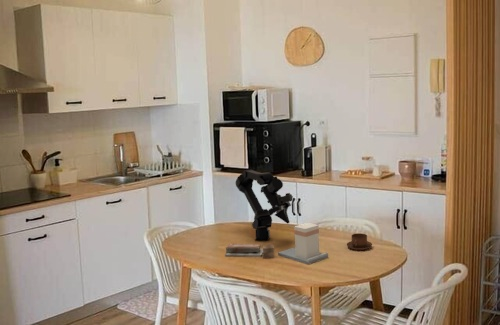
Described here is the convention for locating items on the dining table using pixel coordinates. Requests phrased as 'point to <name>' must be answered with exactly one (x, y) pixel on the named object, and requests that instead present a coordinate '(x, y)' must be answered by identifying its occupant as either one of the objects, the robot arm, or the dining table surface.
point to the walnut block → (268, 251)
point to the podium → (292, 255)
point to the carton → (307, 240)
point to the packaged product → (243, 250)
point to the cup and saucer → (359, 242)
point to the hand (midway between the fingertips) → (288, 223)
